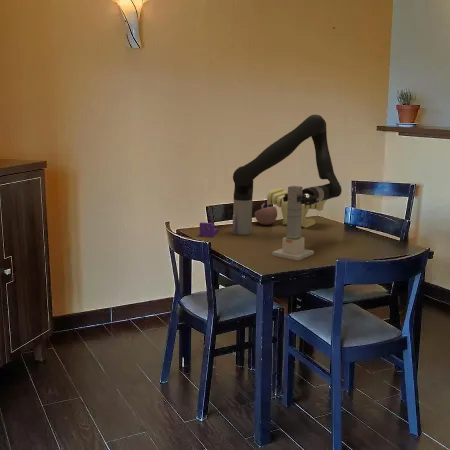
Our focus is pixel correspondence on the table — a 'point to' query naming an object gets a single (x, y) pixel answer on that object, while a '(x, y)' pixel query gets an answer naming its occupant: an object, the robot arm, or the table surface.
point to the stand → (293, 249)
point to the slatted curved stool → (277, 198)
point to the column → (294, 212)
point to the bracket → (208, 230)
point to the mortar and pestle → (266, 215)
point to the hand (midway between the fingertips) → (292, 200)
